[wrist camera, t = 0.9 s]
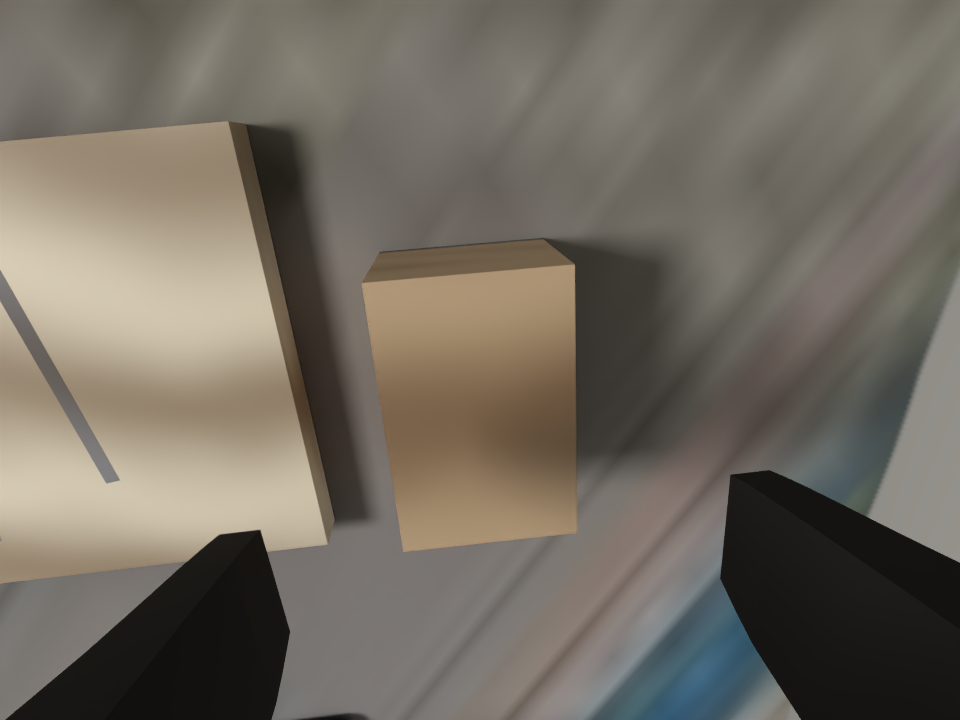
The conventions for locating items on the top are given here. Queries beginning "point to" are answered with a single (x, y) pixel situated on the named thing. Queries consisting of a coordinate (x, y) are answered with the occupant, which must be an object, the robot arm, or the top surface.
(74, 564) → the board
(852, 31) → the top surface
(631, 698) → the top surface
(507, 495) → the block
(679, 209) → the top surface
